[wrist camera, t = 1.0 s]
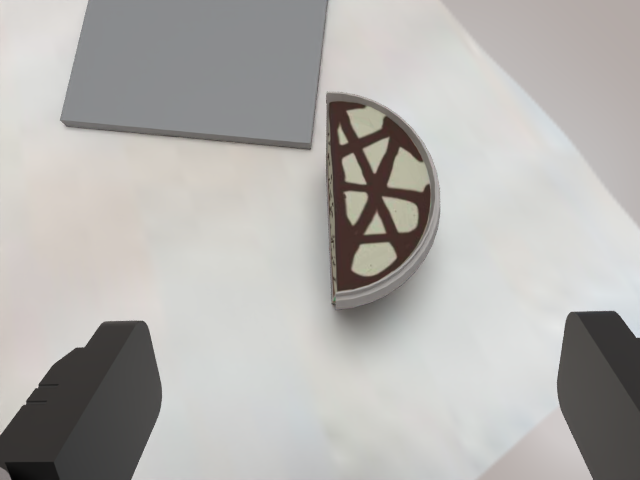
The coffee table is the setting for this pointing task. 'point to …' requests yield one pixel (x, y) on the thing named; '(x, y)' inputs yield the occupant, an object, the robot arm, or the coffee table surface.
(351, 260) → the food container
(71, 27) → the coffee table surface
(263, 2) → the slate board
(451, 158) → the coffee table surface
